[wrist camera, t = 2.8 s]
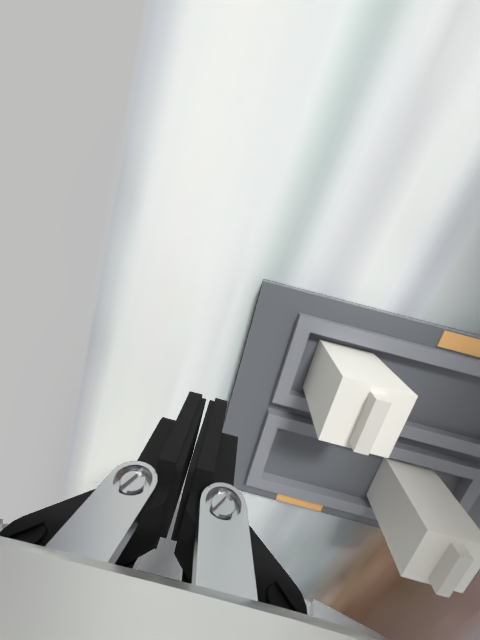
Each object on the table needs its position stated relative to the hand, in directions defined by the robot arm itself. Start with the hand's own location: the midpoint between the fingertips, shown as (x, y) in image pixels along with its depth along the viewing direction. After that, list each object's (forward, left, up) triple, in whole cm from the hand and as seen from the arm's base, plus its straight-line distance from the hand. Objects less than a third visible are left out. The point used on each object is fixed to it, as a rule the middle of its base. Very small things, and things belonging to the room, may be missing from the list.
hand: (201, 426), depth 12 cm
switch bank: (+4, +13, -11) cm, 18 cm away
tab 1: (0, +8, -9) cm, 12 cm away
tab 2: (+8, +16, -9) cm, 20 cm away
